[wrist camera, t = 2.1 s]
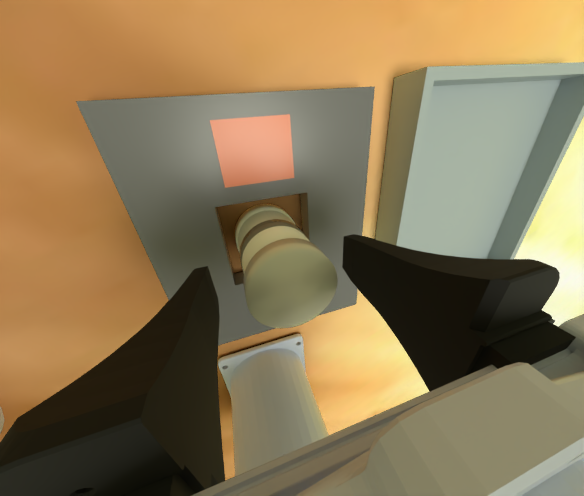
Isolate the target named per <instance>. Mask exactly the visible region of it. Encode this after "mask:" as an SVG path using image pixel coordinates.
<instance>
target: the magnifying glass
mask: <svg viewBox="0 0 584 496" xmlns="http://www.w3.org/2000/svg"><path fill="white" fill-rule="evenodd" d="M3 424H4V416H3V412H2V408H1V407H0V433H1V431H2V428H3Z"/></svg>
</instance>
